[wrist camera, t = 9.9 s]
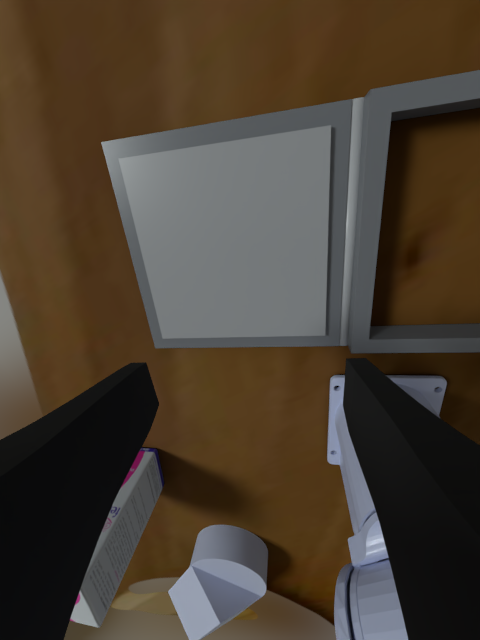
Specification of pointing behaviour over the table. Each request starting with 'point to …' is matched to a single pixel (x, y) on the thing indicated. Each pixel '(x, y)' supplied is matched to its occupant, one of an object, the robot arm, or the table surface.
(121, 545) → the supplement box
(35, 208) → the table surface
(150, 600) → the table surface
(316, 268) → the case
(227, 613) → the wedge on round base
